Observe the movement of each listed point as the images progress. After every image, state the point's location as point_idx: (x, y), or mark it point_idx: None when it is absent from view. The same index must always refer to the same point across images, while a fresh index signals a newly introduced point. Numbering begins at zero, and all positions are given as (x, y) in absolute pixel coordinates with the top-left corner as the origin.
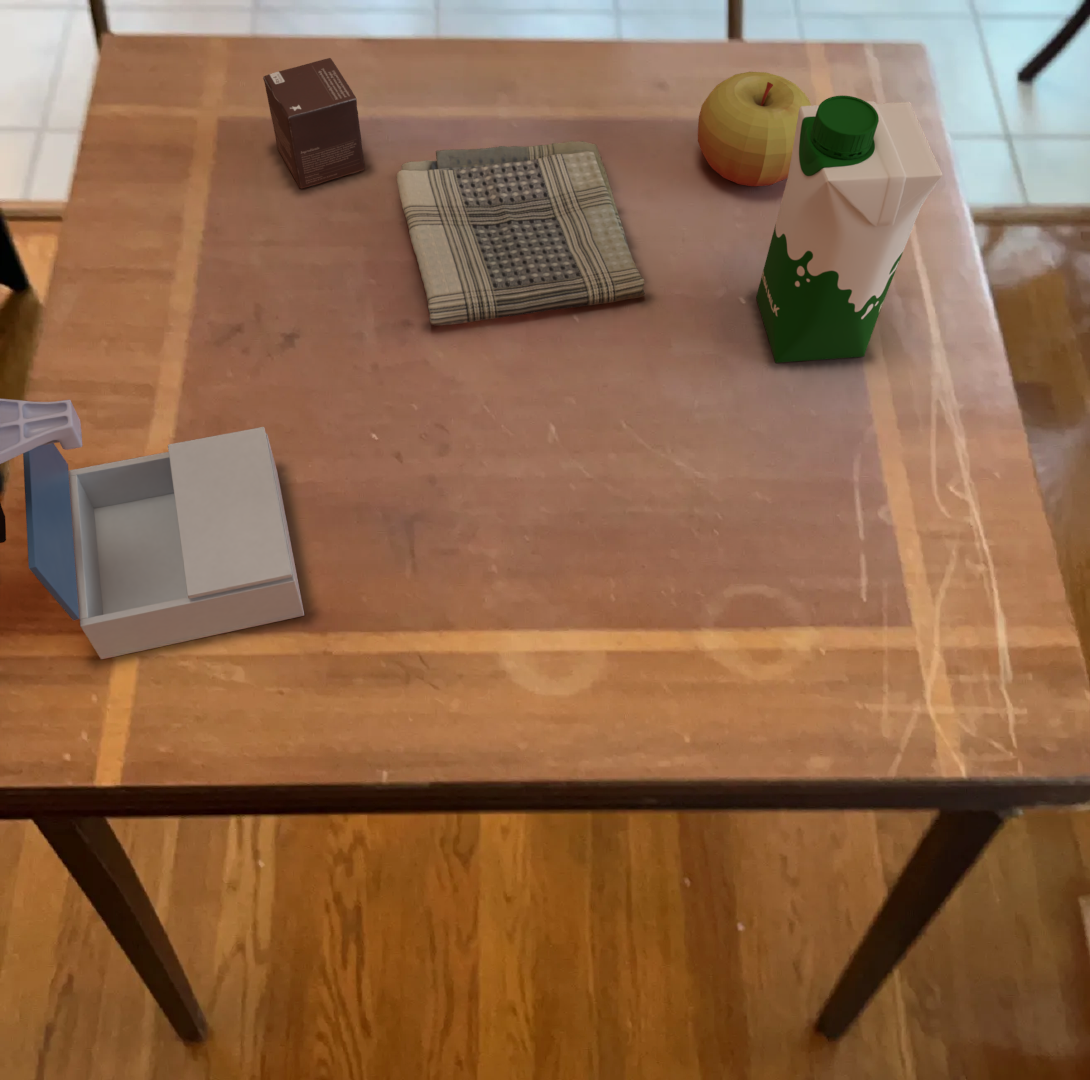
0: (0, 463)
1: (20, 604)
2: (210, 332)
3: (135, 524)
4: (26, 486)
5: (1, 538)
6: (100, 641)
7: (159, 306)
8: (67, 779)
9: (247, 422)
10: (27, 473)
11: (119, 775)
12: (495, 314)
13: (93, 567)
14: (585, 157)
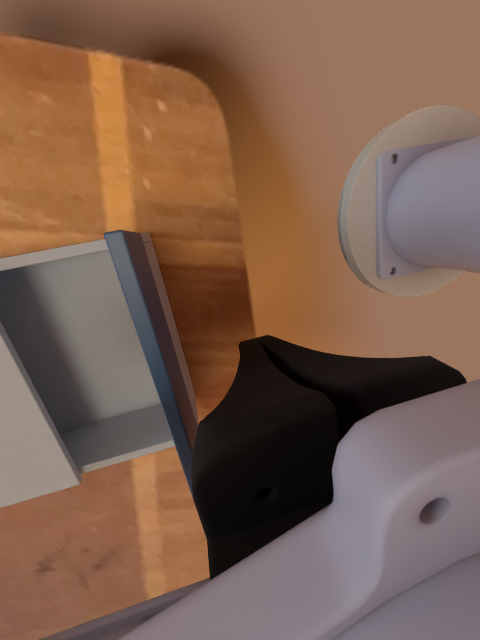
0: (133, 638)
1: (241, 299)
2: (122, 559)
3: (143, 383)
4: (184, 440)
5: (241, 344)
6: None
7: (172, 570)
8: (155, 71)
9: (62, 490)
10: (189, 465)
11: (92, 65)
12: None
13: None
14: None
